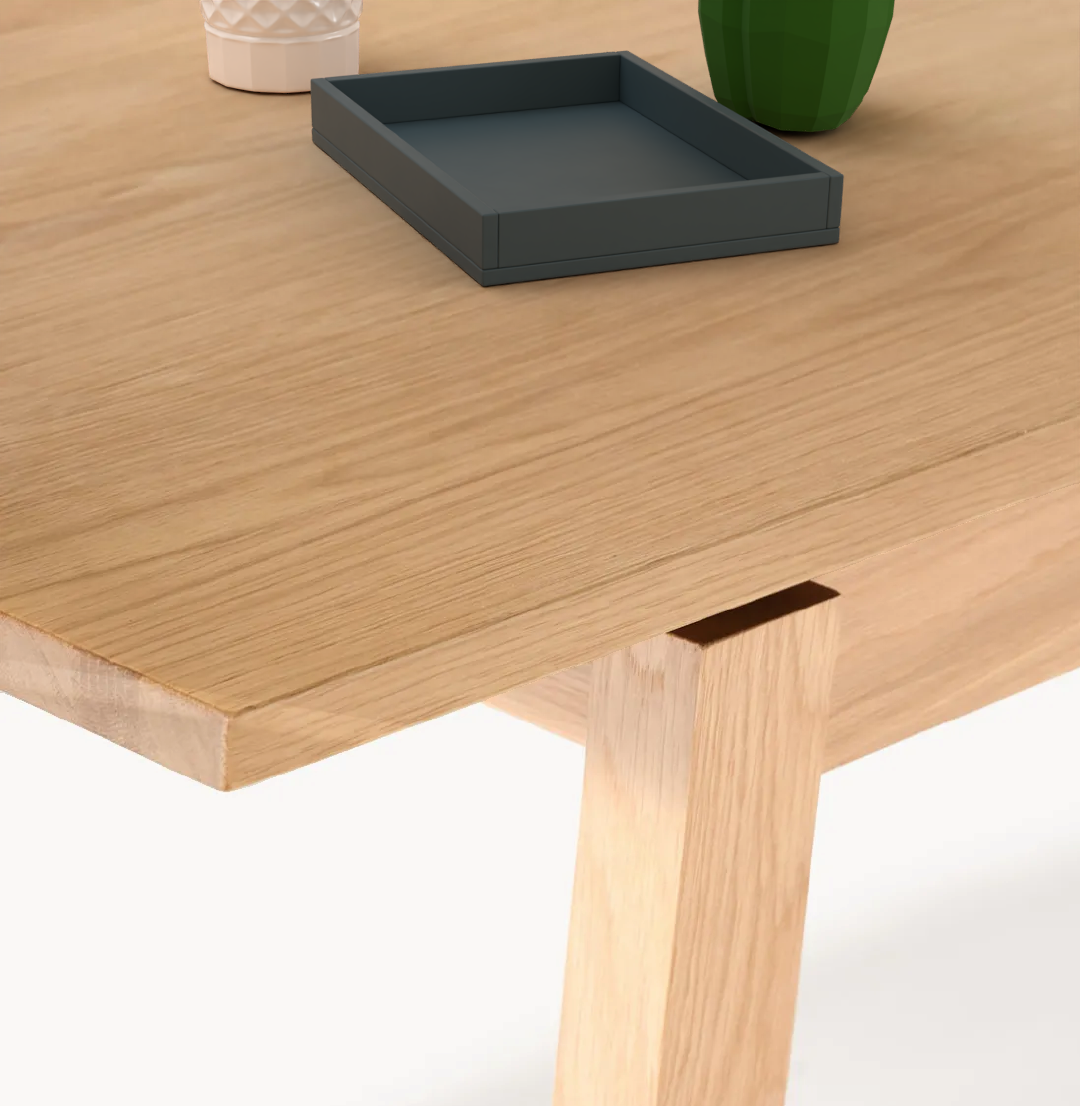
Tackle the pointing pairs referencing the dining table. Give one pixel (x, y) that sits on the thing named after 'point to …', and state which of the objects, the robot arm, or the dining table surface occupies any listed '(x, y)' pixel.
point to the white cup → (280, 42)
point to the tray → (571, 166)
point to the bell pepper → (793, 57)
